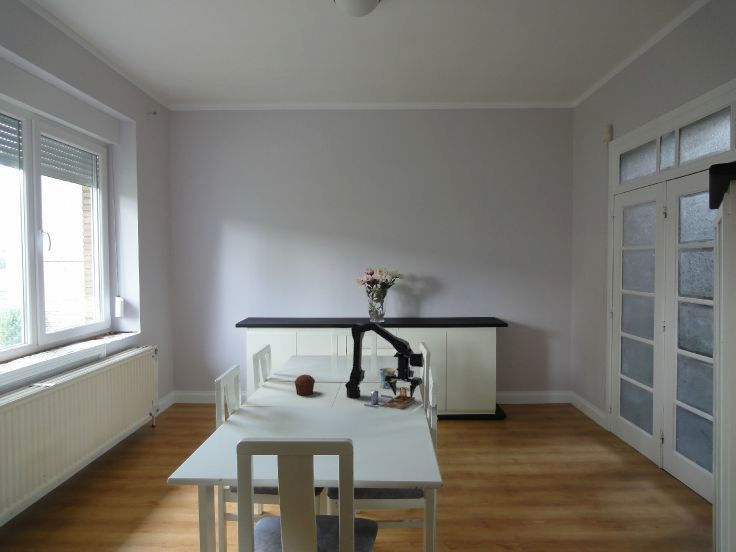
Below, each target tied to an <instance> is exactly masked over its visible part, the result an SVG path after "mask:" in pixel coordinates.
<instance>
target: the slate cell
mask: <svg viewBox="0 0 736 552" xmlns="http://www.w3.org/2000/svg"><path fill="white" fill-rule="evenodd" d="M370 396H371V398H370V400H371V401H370V402H371V405H378V398H379V390H376V389H374V390H373V389H372V390H371V391H370Z"/></svg>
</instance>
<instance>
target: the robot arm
mask: <svg viewBox="0 0 736 552" xmlns="http://www.w3.org/2000/svg"><path fill="white" fill-rule="evenodd" d="M370 331H371V332H372V331H373V332H374V333H376V334H377V335H378V336H380V338H383V339H384V340H385V341H387V342H388V343H389V344H390V345H391V346H392V347H393V348H394V349H395V351H396V352H395V354H394V355H393V358H397V368H396V371H397V374H395V373H394V374H388V375H386V376H385V381H387V383H389V385H390V386H391V388H392V389H391V390H392V392H393V395H394V396H397V381H399V382H404V383H405V382H407V383H410V385H409V395H410V396H409V397H411V398H412V397H414V394H415V390H416V388H417V387H418V386H420V385H422V384H423V379H422V377H417V376H415V377H414V374H415V373H414V372H415V371H414V370H412V369H411V368H412V367H415V368H416V367H417V368H424V365H425V359H424V358H425V357H424V353H422V352H420V353H417V352H416V353H415V352H414V351H413V349H412V348H411V346H410V343H409V341H407V340H406V339H403V338H401V337H397V336H396V335H394V334H393V333H392V332H390V331H389V330H387V329H386V328H384V327H383V326H382V325H380V324H379V323H378V322H376V321H372V322H367V323H366V322H365V323H363V322H358V323H355V324H353V325H352V326H351V329H350V333H351V337H352V340H353V347H352V348H353V353H352V355H353V356H352V368H351V370H350V375H349V380H348V381H347V382H346V383H345V389H346V398H348V399H350V400H351V399H353V400H354V399H360V398H361V389H360V385H361V383H362V382H364V379H365V378H366V375H365V372H366V370H365V369H363V368H362V358H363V357H362V356H363V355H362V353H363V339H364V338H365V334H366V333H365V332H370ZM410 366H411V367H410Z"/></svg>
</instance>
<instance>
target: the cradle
mask: <svg viewBox="0 0 736 552" xmlns="http://www.w3.org/2000/svg"><path fill="white" fill-rule="evenodd" d="M393 398H394V396H392V395H387V394H380V396H378V405H371V401H370V402H368V403H364V404H363V406H364V407H368V408H373V409H378V408H379V407H381V406H383V405H385V403H386V402H388V401H390V400H391V399H393Z"/></svg>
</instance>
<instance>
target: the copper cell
mask: <svg viewBox="0 0 736 552" xmlns="http://www.w3.org/2000/svg"><path fill="white" fill-rule="evenodd" d="M399 395H400V400H404V401H407V396H408V387H406V386H400V387H399Z"/></svg>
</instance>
